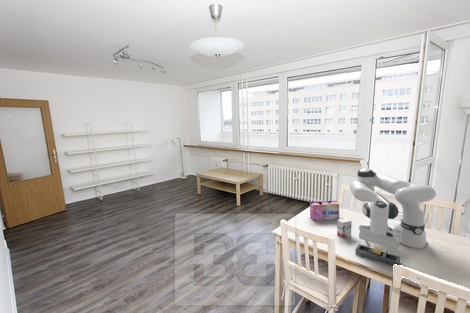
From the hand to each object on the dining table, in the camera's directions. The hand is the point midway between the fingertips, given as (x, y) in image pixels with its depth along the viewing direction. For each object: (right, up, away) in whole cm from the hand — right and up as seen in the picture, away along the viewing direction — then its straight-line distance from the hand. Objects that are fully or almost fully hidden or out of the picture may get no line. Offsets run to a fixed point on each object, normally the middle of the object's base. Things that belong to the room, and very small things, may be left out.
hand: (377, 250), depth 133 cm
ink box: (-6, -1, +29) cm, 29 cm away
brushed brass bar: (0, -5, +1) cm, 5 cm away
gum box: (-8, +3, +59) cm, 59 cm away
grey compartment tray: (0, -5, +1) cm, 5 cm away
